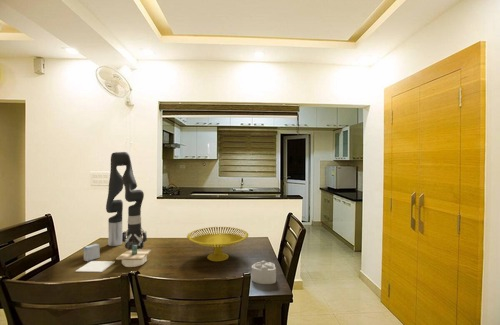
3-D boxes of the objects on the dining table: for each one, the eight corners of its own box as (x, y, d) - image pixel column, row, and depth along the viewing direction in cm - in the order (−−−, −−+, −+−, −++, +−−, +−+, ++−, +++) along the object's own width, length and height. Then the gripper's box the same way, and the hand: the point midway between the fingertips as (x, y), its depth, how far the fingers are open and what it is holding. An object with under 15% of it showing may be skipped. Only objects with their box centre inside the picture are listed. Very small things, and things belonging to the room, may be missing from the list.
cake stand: (240, 273, 148) (240, 247, 147) (175, 266, 156) (175, 241, 155) (253, 248, 187) (253, 228, 187) (200, 244, 195) (201, 224, 195)
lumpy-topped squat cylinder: (276, 284, 136) (276, 267, 135) (251, 284, 135) (251, 267, 135) (274, 275, 146) (274, 259, 146) (251, 275, 146) (251, 259, 146)
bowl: (129, 258, 167) (129, 251, 167) (149, 259, 167) (149, 251, 167) (118, 267, 154) (118, 258, 154) (140, 267, 154) (140, 259, 154)
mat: (91, 261, 162) (91, 261, 162) (115, 262, 161) (115, 261, 161) (75, 271, 148) (75, 270, 148) (101, 272, 147) (101, 271, 147)
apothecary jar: (147, 250, 183) (147, 224, 183) (138, 256, 171) (138, 229, 171) (131, 249, 184) (131, 224, 184) (121, 255, 172) (120, 228, 172)
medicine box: (96, 256, 171) (96, 243, 170) (100, 257, 168) (99, 244, 168) (83, 260, 164) (83, 246, 164) (87, 262, 162) (87, 248, 161)
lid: (128, 250, 168) (128, 241, 168) (151, 250, 168) (151, 241, 168) (115, 259, 153) (115, 249, 153) (141, 260, 153) (141, 250, 153)
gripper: (148, 221, 164) (148, 246, 164) (126, 220, 164) (126, 246, 164) (143, 224, 156) (143, 250, 156) (119, 223, 156) (119, 250, 157)
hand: (134, 248), depth 160 cm, fingers open, 8 cm apart
